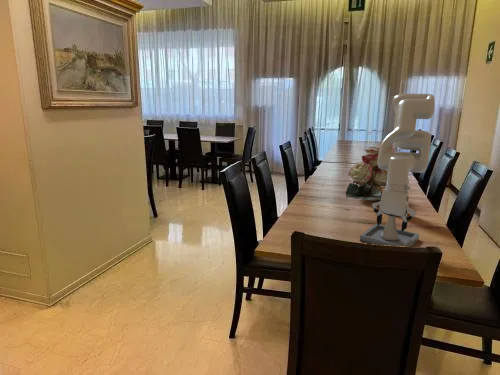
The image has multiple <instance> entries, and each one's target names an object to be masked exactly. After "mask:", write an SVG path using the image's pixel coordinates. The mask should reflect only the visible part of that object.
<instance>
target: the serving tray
mask: <svg viewBox="0 0 500 375" xmlns="http://www.w3.org/2000/svg"><path fill="white" fill-rule="evenodd" d="M385 226H386V225H384V224H380V225H377V223H375V224H374V225H372V226H371V227H370V228H368V229H367V230H365V231H363V233H361V235H360V236H359V242H363V243H366V244H369V243H370V244H369V245H372V244H377V245H391V246H405V247H411V246H412V247H413V246H414V245H415V244H416V243H417V242H418V241H419V238H420V233H416V232H412V231H409V230H408V231H407V230H406V229H405V230H404V231H402V230H401V229H400V228H397V227H396V229H397V234H398V237H399V240H395V241H391V240H385V239H383V238H381V233H382V231H383V230H384V228H385ZM412 247H411V248H412Z"/></svg>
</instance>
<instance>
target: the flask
mask: <svg viewBox="0 0 500 375" xmlns="http://www.w3.org/2000/svg"><path fill="white" fill-rule="evenodd" d="M387 215H388V220H387V222H386V225H384V226H385V228H384V230H383V231H382V233H381V238H383V239H385V240H391V241H395V240H399V237H398V234H397V229H398V228H397V226H396V225H397V223H396V219H397V217H398V216H396V215H391V214H387ZM396 228H397V229H396Z"/></svg>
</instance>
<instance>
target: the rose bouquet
mask: <svg viewBox="0 0 500 375" xmlns="http://www.w3.org/2000/svg"><path fill="white" fill-rule="evenodd" d="M379 148H380V146H379V147H376V146H370V147H368V148H364V149H363V151H364V152H365V153H366V154H363V155H361V160H362V161H358V162H356V163H355V164H354V165H353V166H352V167H350V170H348V173H347V176H348V177H350V178H351V180H352V182H349V183H348V186H347V187H346V190H345V197H347V198H349V199H352V200H353V199H355V200H356V199H359V200H360V199H361V200H363V201H368V202H373V201H381V197H382V194H383V189H382V187H386V182H387V174H388V170H382V169H380V168H379V167H378V164H377V161H378V154H379Z"/></svg>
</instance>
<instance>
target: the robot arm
mask: <svg viewBox="0 0 500 375" xmlns="http://www.w3.org/2000/svg"><path fill="white" fill-rule="evenodd" d="M435 100H436V98H435V96H434V95H433V94H431V93H399V94H396V95H394V96H393V97H392V109H393V113H394V114H395V118H394V122H393V123H394V125H393V130H392V131H391V132H390V133H389V134H387V135H386V136H385V137H384V138H383V140H382V141H381V143H380V146H379V147H380V148H379V147H378V148H379V154H378V161H377V164H378V167H379V168H380V169H382V170H388V174H387V182H386V186H385V188H384V189H383V190H382V197H381V200H378V201H376V202H373V203H372V204H371V207H372V209H373V212H374V213H375V216H376V224H377V225H382V222H383V214H386V215H388V214H391V215H396V216H397V217H401V219H402V220H403V221H402V222H401V230H402V231H404V230H405V231H406V229H407V228H408V222H409V221H411V220H412V219H413V218H414V217H416V215H417V211H416V210H414V209H413V208H411V207H410V206H409V196H410V195H409V191H408V190H411V186H409V184H410V183H409V182H410V180H409V173H420V174H421V173H425V172H426V170H427V169H428V163H429V159H430V149H431V142H432V136H431V134H430V132H429V131H427V130H417V129H416V127H417V121H418V120H430V119H432V117H433V115H434V113H435V107H436V106H435V105H436V102H435ZM392 144H394V147H395V148H396V149H398V150H404V151H393V152H392V151H387V149H388V148H389V147H390V146H391V145H392ZM405 150H406V151H405ZM407 150H408V151H417V152H408V151H407ZM377 206H379V209H378V207H377ZM408 214H410V215H408Z"/></svg>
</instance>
